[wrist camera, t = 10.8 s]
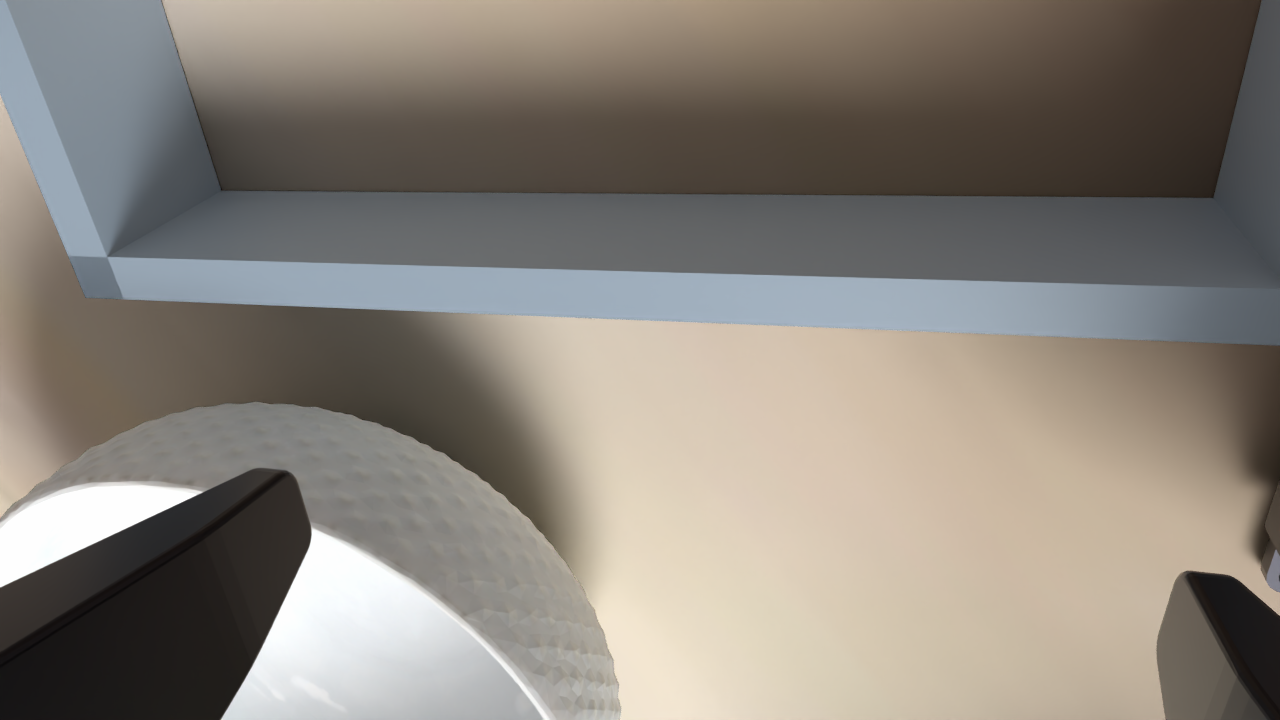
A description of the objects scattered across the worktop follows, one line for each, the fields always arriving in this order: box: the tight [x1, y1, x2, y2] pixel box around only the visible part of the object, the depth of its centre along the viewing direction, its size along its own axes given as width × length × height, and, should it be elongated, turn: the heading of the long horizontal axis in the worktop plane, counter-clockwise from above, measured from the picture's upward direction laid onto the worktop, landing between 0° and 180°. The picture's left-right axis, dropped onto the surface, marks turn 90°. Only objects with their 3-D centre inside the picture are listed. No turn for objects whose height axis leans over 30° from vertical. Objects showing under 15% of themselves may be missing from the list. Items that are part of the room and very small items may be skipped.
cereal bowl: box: [0, 402, 621, 720], centre depth 26 cm, size 17×17×7 cm
